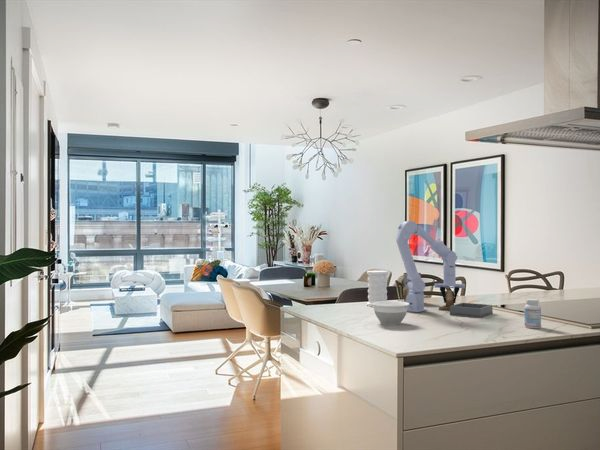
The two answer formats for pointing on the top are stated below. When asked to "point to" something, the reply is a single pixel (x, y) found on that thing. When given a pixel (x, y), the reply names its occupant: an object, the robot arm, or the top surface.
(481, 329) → the top surface
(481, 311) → the tray
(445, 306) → the collar holder
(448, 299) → the dowel
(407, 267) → the robot arm
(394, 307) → the bowl
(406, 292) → the coffee box
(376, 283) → the decorative container
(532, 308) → the pill bottle
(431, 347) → the top surface
